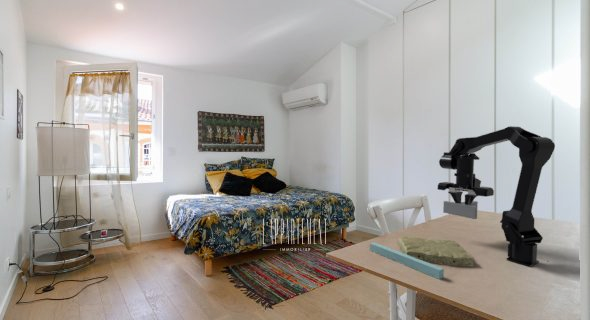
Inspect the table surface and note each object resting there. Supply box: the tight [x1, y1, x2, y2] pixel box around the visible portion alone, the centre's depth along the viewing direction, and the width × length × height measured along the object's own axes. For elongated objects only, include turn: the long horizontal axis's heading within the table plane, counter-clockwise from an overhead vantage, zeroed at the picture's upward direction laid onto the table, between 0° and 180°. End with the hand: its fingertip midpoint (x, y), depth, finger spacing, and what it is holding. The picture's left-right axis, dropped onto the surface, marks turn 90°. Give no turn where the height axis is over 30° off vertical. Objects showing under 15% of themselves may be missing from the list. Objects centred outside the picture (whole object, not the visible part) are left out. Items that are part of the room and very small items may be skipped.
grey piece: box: [442, 200, 479, 220], centre depth 116 cm, size 12×12×4 cm
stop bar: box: [369, 241, 445, 280], centre depth 93 cm, size 26×2×2 cm, turn 31°
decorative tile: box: [397, 236, 474, 268], centre depth 100 cm, size 19×20×4 cm
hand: (463, 210), depth 115 cm, fingers closed on grey piece, 2 cm apart
